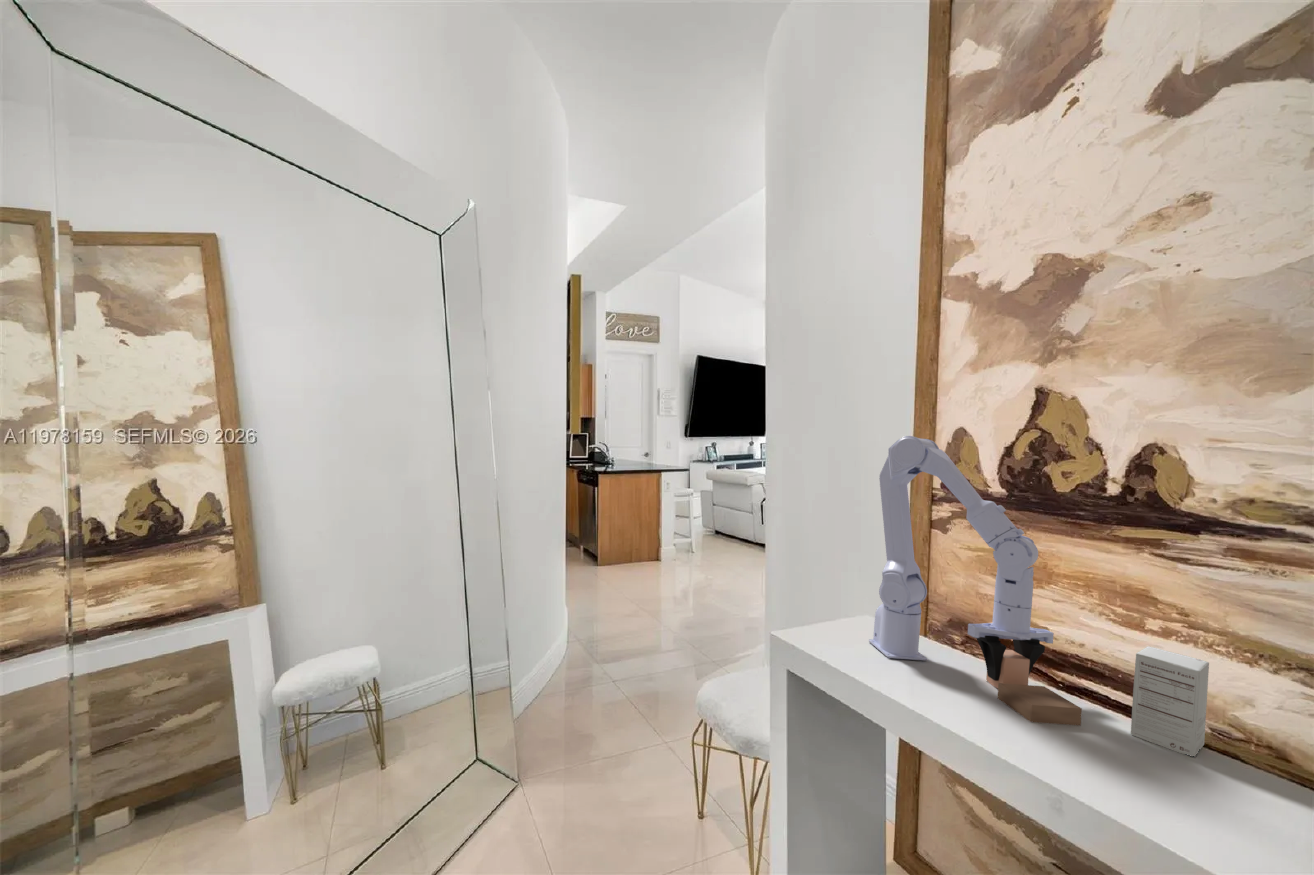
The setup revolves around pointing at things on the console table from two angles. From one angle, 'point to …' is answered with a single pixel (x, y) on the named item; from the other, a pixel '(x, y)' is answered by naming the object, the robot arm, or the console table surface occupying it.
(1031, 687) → the walnut block
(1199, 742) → the supplement box
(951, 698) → the console table surface
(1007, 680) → the cube
